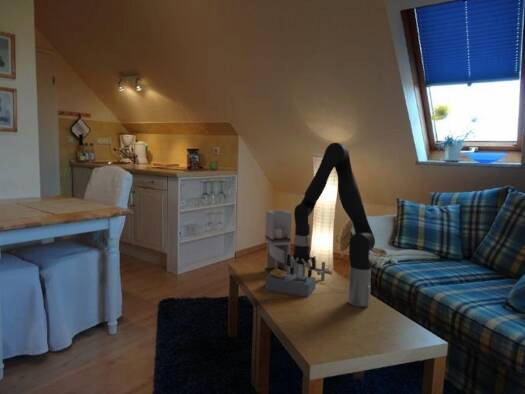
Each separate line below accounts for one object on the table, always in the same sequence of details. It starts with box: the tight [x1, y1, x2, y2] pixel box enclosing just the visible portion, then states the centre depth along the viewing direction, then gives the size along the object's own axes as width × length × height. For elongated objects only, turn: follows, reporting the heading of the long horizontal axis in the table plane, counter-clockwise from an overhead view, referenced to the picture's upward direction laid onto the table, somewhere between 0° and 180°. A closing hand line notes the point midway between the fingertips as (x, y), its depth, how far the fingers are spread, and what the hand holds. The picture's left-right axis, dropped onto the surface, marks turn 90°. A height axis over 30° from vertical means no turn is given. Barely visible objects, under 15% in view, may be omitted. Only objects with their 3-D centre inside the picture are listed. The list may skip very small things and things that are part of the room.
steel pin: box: [297, 264, 306, 282], centre depth 196 cm, size 4×4×14 cm
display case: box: [264, 209, 293, 276], centre depth 221 cm, size 11×11×35 cm
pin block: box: [264, 272, 317, 298], centre depth 198 cm, size 22×12×6 cm, turn 67°
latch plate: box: [270, 268, 290, 279], centre depth 200 cm, size 8×8×1 cm
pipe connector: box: [313, 261, 333, 282], centre depth 213 cm, size 10×10×10 cm
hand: (300, 276), depth 196 cm, fingers open, 8 cm apart
